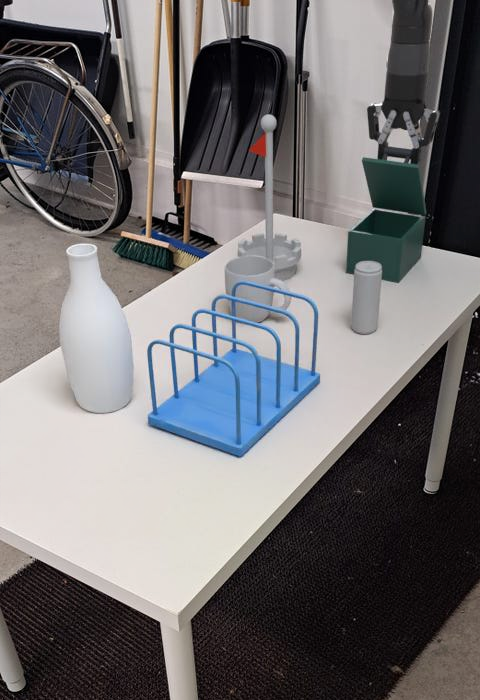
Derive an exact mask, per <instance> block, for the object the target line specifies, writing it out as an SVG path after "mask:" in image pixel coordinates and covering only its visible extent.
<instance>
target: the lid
mask: <svg viewBox="0 0 480 700" xmlns="http://www.w3.org/2000/svg"><path fill="white" fill-rule="evenodd" d="M411 152H412V148H406V147H397V146H389V145H388V146H385V148H384V155H383V158H382V160H380V159H378V158H371V157H364V156H363V157H362V158H361V163H362V167H363V172H364V176H365V180H366V184H367V188H368V194H369V198H370V203H371V207H372V209H373V208H374V209H380V210H387V211H393V212H400V213H406V214H412V215H419V216H425V217H426V215H427V208H426V207H427V206H426V201H425V194H424V187H423V186H424V185H423V180H422V172H421V166H420V165H421V164H410V161H411ZM388 157H389V158H396V159H404V161H403V162H402V161H394V160H388Z"/></svg>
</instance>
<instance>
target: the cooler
mask: <svg viewBox="0 0 480 700" xmlns="http://www.w3.org/2000/svg"><path fill="white" fill-rule="evenodd" d="M426 219H427V218H426V215H425V216H424V215H418V214H411V213H405V212H399V211H392V210H386V209H379V208H373V207H372V209H370V210H369V212H367V213H366V214H365V215H364V216H363V217H362V218H361V219H360V220H359V221H358V222H356V223H355V224H354V225H353V226H352V227H351V228H350V229H349V230H348V231H347V244H346V245H347V246H346V265H345V273H346V274H350V275H354V270H355V268H356V267H355V266H356V264H357V263H359V262H362V261H374V262H378V263H380V264H381V266H382V268H381V269H382V280H381V281H386V282H393V283H397V284H399V283H400V282H401V281H402V280H403V279H404V278H405V277H406V275H407V274H408V273H409V272H410V271H411V270H412V269H413V267H415V265H416V264H417V263H418V262H419V261H420V259H421V258H422V253H423V252H422V251H423V244H424V235H425V225H426Z"/></svg>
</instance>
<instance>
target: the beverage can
mask: <svg viewBox="0 0 480 700" xmlns="http://www.w3.org/2000/svg"><path fill="white" fill-rule="evenodd" d="M355 267H356V268H355V270H354V274H353V288H352V301H351V302H352V303H351V321H350V327H351V329H352V330H353V332H355V333H356V334H360V335H369V334H370V335H371V334H372V333H373V332H375V331H376V330H377V328H378V324H379V312H380V301H381V292H382V291H381V289H382V281H383V280H382V269H381V268H382V266H381V264H380V263H378V262H374V261H362V262H359V263H357V264H356V266H355Z"/></svg>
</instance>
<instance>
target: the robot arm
mask: <svg viewBox="0 0 480 700" xmlns="http://www.w3.org/2000/svg"><path fill="white" fill-rule="evenodd" d="M391 4H392V20H391V32H390V41H389V46H388V47H389V48H388V52H387V60H386V63H385V64H386V65H385V66H386V72H385V84H384V99H383V101H382V103H379V104H378V103H375V102H374V103H371V104H370V105H369V106H367V108H366V114H367V124H368V125H367V126H368V138H369V139H370V140H371V141H373V140H374V141H375V142H377V144H378V145H377V146H378V147H377V158H376V159H380V160H382V158H383V155H384V148H385V146H389V141H388V139H389V137H390V135H391V133H392V132H393V130H398V129H400V130H403V131H407V133H408V136H409V138H410V140H411V143H412V148H411V149H412V152H411V159H410V160H409V163H410V164H418V165H420V163H421V158H422V150H423V149H422V148H423V147H427V146H428V145H430V144H431V143H432V142H433V140H434V136H435V134H436V130H437V126H438V124H439V123H438V122H439V120H440V116H441V111H440V110H439V109H435V110H433V109H430V108H427V105H426V103H425V102H426V92H427V85H428V84H427V83H428V74H429V68H430V67H429V66H430V55H431V49H430V48H431V47H430V46H431V37H432V36H431V35H432V27H433V8H432V5H431V4H430V3H429V0H391ZM381 112H382V114H383V116H384V118H385V120H386V121H385V123H384V125H383V127H382V129H381V132H380V121H379V116H380V115H381ZM423 116H424V117H425V122H426V124H427V125H426V127H425V131H424V135H422V128H421V124H420V120H421V119H422V118H423Z"/></svg>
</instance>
